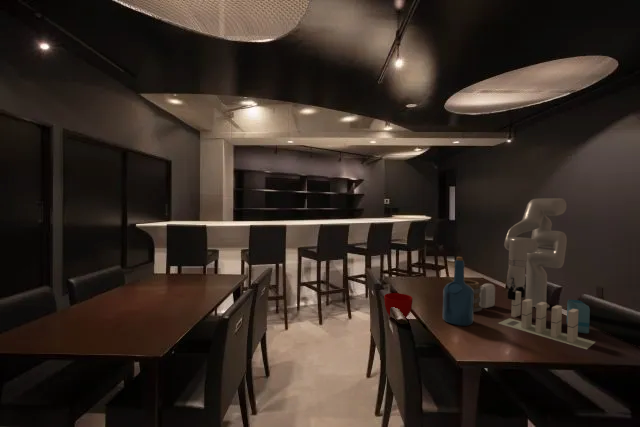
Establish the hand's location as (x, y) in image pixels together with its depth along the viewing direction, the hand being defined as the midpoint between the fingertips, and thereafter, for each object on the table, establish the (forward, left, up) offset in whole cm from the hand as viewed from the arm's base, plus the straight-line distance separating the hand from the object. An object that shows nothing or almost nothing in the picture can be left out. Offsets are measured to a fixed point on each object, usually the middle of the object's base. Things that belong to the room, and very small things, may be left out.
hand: (515, 298), depth 155 cm
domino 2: (+12, +9, -9) cm, 18 cm away
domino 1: (-1, 0, -9) cm, 9 cm away
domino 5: (+12, +26, -9) cm, 30 cm away
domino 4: (+12, +20, -9) cm, 25 cm away
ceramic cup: (+49, -32, -9) cm, 59 cm away
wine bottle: (+31, -12, -9) cm, 35 cm away
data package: (-6, +23, -9) cm, 25 cm away
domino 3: (+12, +15, -9) cm, 21 cm away
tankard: (+7, -24, -9) cm, 27 cm away
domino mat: (+12, +16, -9) cm, 22 cm away
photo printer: (-5, -16, -9) cm, 19 cm away
